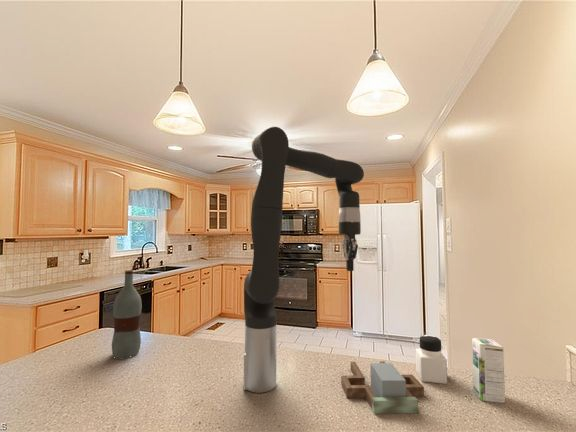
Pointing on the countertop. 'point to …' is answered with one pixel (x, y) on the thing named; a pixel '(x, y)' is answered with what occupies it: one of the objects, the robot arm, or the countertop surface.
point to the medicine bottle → (431, 360)
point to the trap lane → (408, 404)
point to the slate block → (387, 381)
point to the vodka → (127, 320)
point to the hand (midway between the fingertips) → (349, 270)
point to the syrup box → (488, 370)
